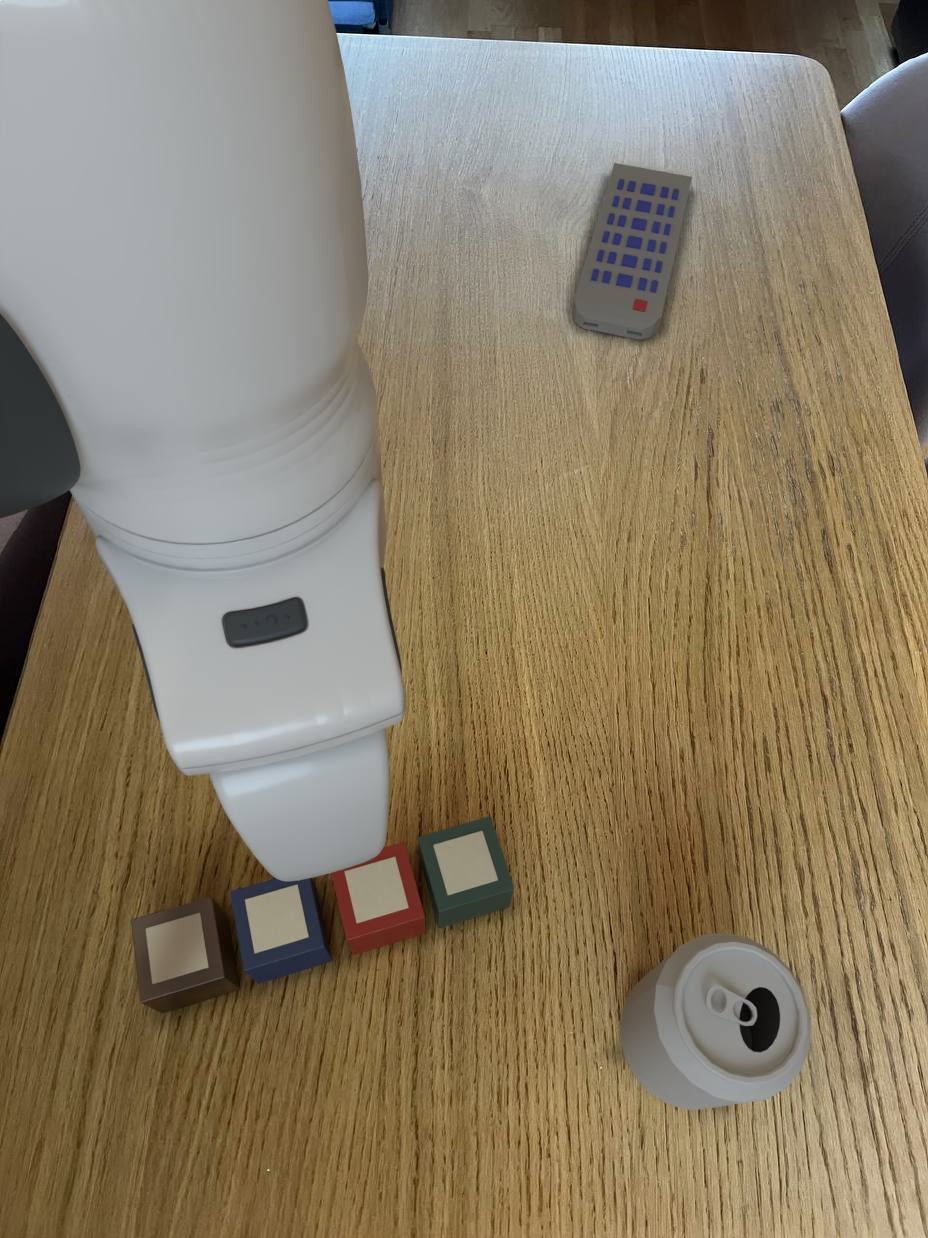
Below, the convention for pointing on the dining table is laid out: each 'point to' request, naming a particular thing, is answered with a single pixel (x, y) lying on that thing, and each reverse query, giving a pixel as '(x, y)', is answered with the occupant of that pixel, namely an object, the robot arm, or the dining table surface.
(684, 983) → the can
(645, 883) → the dining table surface
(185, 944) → the walnut letter block
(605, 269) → the remote control
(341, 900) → the red letter block
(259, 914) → the navy letter block
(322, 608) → the robot arm
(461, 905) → the slate green letter block
